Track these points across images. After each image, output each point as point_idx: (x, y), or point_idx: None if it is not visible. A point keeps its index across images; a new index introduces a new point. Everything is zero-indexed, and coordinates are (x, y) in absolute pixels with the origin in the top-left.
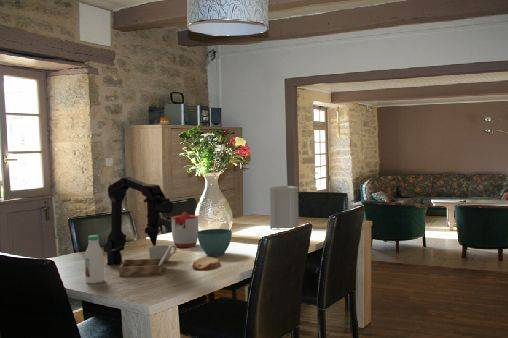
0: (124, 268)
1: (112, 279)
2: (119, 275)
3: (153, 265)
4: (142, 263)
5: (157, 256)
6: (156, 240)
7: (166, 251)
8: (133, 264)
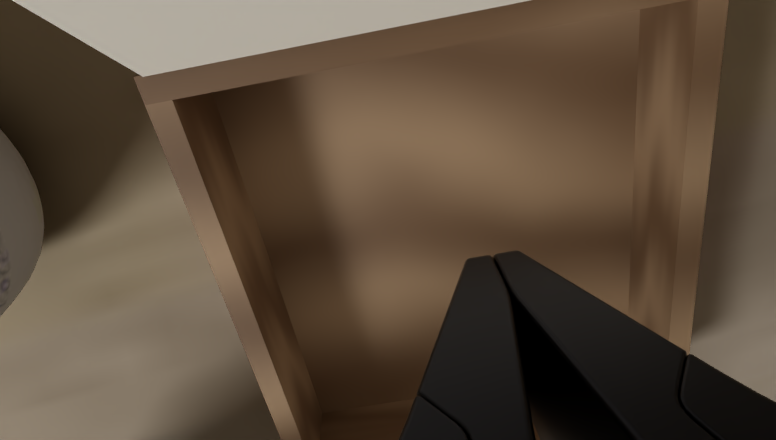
0: None
1: (745, 381)
2: None
3: (237, 175)
4: (273, 306)
5: (9, 209)
6: (473, 329)
7: (106, 4)
8: (302, 380)
